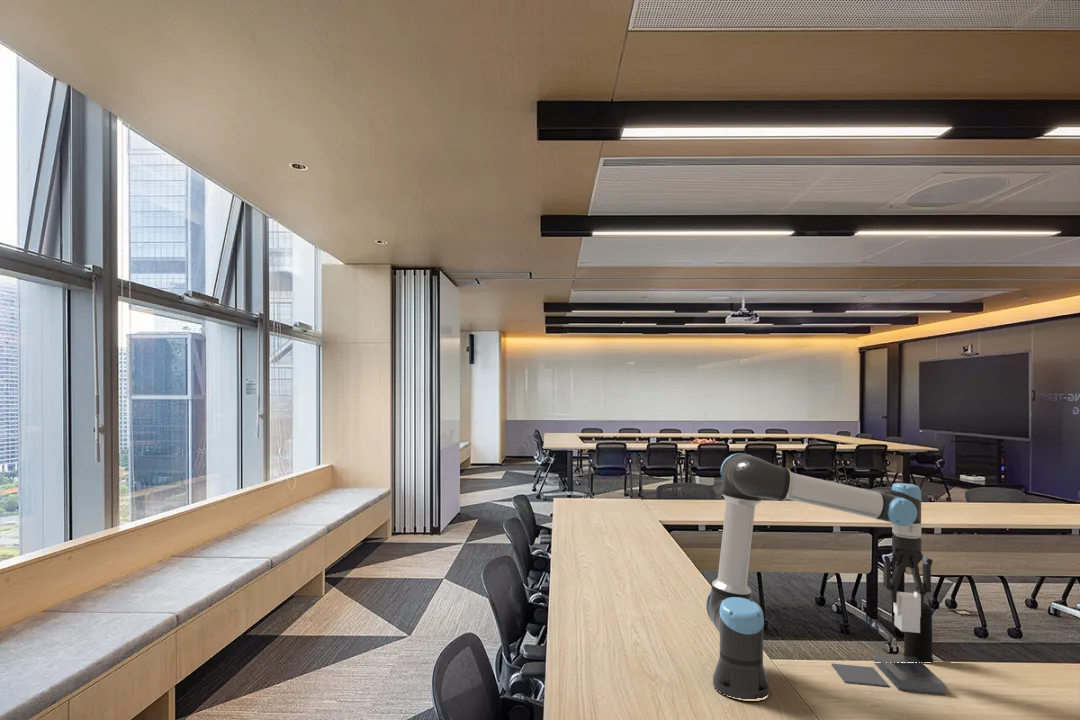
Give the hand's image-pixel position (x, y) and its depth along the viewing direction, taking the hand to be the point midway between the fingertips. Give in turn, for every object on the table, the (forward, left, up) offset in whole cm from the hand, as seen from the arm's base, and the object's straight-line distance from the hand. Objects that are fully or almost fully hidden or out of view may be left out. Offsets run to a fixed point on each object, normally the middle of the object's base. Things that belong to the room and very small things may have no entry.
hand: (907, 614), depth 180 cm
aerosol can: (+10, +17, -19) cm, 27 cm away
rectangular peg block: (0, 0, -4) cm, 4 cm away
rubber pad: (-14, -1, -19) cm, 23 cm away
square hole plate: (0, 0, -19) cm, 19 cm away
